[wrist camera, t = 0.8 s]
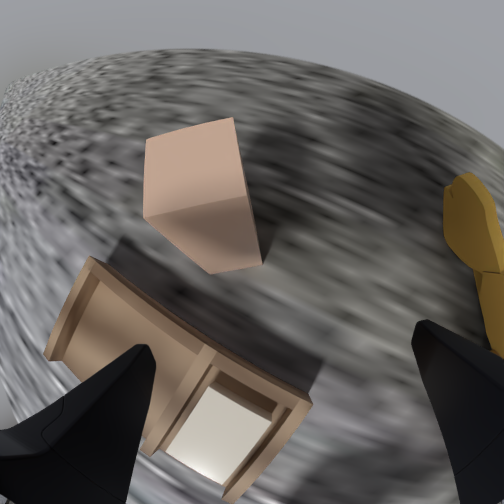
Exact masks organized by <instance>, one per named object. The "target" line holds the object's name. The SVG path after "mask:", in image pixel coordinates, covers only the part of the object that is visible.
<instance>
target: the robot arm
mask: <svg viewBox="0 0 504 504" xmlns="http://www.w3.org/2000/svg"><path fill="white" fill-rule="evenodd" d="M411 345H412V349H413V352H414V355H415V358H416V361H417V365H418V368H419V371H420V375H421V378H422V381H423V384H424V386H425V389H426V391H427V394H428V396H429V399H430V402H431V404H432V407H433V410H434V412H435V415H436V418H437V421H438V424H439V427H440V429H441V432H442V436H443V439H444V442H445V445H446V448H447V452H448V455H449V458H450V462H451V466H452V469H453V473H454V478H455V482H456V486H457V491H458V495H459V500H460V504H497V503H499V502H501V504H504V359H503V358H502V357H500V356H498V355H496V354H494V353H492V352H491V351H489V350H487V349H485V348H483V347H481V346H479V345H477V344H475V343H473V342H471V341H469V340H467V339H466V338H464V337H462V336H460V335H458V334H456V333H454V332H452V331H450V330H448V329H446V328H444V327H442V326H440V325H438V324H436V323H434V322H432V321H430V320H428V319H426V320H421V321H418V322H417V323H416V326H415V329H414V333H413V337H412V340H411ZM155 373H156V361H155V358H154V356H153V354H152V351H151V349H150V347H149V345H147V344H136V345H134V346H133V347H131V348H130V349H129V350H127V351H126V352H124V353H123V354H122V355H120V356H119V357H117V358H116V359H115V360H113V361H112V362H110V363H109V364H108V365H106V366H105V367H103V368H102V369H101V370H99V371H98V372H96V373H95V374H94V375H92V376H91V377H89V378H88V379H87V380H85V381H84V382H82V383H81V384H79V385H78V386H77V387H75V388H74V389H72V390H71V391H70V392H68V393H67V394H65V396H62V397H61V398H60V399H58V400H57V401H55V402H54V403H52V404H51V405H49V406H48V407H46V408H45V409H43V410H41V411H40V412H38V413H36V414H35V415H33V416H31V417H29V418H28V419H26V420H24V421H22V422H20V423H19V424H17V425H15V426H14V427H11V428H9V429H4V430H0V504H126V500H127V495H128V490H129V486H130V481H131V477H132V473H133V468H134V464H135V460H136V456H137V452H138V448H139V444H140V440H141V436H142V432H143V429H144V425H145V421H146V418H147V414H148V410H149V406H150V402H151V396H152V390H153V384H154V378H155Z"/></svg>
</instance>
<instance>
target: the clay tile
mask: <svg viewBox="0 0 504 504" xmlns="http://www.w3.org/2000/svg"><path fill="white" fill-rule="evenodd" d="M271 423H272V413H270V412H268V411H266V410H264V409H262V408H261V407H259V406H257V405H255V404H253V403H251V402H250V401H248V400H246V399H244V398H242V397H241V396H239V395H237V394H235V393H234V392H232V391H230V390H229V389H227V388H225V387H224V386H222V385H220V384H219V383H217V382H216V381H214V382H213V383H212V384H211V385H209V386H208V388H207V389H206V391H205V392H204V394H203V396H202V397H201V399H200V400H199V402H198V403H197V405H196V406H195V408H194V409H193V411H192V413H191V414H190V416H189V417H188V419H187V420H186V422H185V423H184V425H183V426H182V428H181V429H180V431H179V432H178V434H177V435H176V437H175V438H174V440H173V441H172V443H171V444H170V445H169V447H168V448H167V450H166V451H165V452H167V453H168V454H170V455H171V456H173V457H174V458H176V459H177V460H179V461H180V462H182V463H184V464H185V465H187V466H189V467H190V468H192V469H194V470H195V471H197V472H199V473H201V474H202V475H204V476H206V477H208V478H210V479H212V480H213V481H215V482H217V483H219V484H221V485H222V484H223V483H224V482H225V481H226V480H227V479H228V478H229V476H230V475H231V474H232V473H233V472H234V470H235V469H236V468H237V467H238V466H239V464H240V463H241V462H242V461H243V460H244V458H245V457H246V456H247V455H248V453H249V452H250V451H251V449H252V448H253V447H254V446H255V444H256V443H257V442H258V440H259V439H260V438H261V436H262V435H263V434H264V432H265V431H266V430H267V428H268V427H269V425H270V424H271Z"/></svg>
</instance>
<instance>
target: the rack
mask: <svg viewBox="0 0 504 504" xmlns="http://www.w3.org/2000/svg"><path fill="white" fill-rule="evenodd" d="M136 344H147V345H149V347H150V349H151V351H152V354H153V356H154V358H155V361H156V373H155V378H154V384H153V390H152V396H151V402H150V406H149V410H148V414H147V418H146V421H145V425H144V429H143V432H142V436H143V437H144V438H146V440H145V442H144V443H143V445H142V447H141V448H140V450H141V451H142V452H144V453H145V454H146V455H148V456H149V457H150V456H152V455H153V454H154V453H155V452H156V451H157V450H158V449H159V448H160V449H161V450H163V451H164V452H165V451H166V450H167V448H168V447H169V445H170V444H171V443H172V441H173V440H174V438H175V437H176V435H177V434H178V432H179V431H180V429H181V428H182V426H183V425H184V423H185V422H186V420H187V419H188V417H189V416H190V414H191V413H192V411H193V409H194V408H195V406H196V405H197V403H198V402H199V400H200V399H201V397H202V396H203V394H204V392H205V391H206V389H207V388H208V386H209V385H211V384H212V383H213V382H214V381H216V382H217V383H219V384H220V385H222V386H224V387H225V388H227V389H229V390H230V391H232V392H234V393H235V394H237V395H239V396H241V397H242V398H244V399H246V400H248V401H250V402H251V403H253V404H255V405H257V406H259V407H261V408H262V409H264V410H266V411H268V412H270V413H272V423H271V424H270V425H269V427H268V428H267V430H266V431H265V432H264V434H263V435H262V436H261V438H260V439H259V440H258V442H257V443H256V444H255V446H254V447H253V448H252V449H251V451H250V452H249V453H248V455H247V456H246V457H245V458H244V460H243V461H242V462H241V463H240V464H239V466H238V467H237V468H236V469H235V470H234V472H233V473H232V474H231V475H230V476H229V478H228V479H227V480H226V481H225V482H224V483H223V484H222V486H224V487H226V488H225V491H224V494H223V496H222V500H224V501H226V502H228V503H231V504H234V503H235V501H236V500H237V499H238V498H239V497H240V496H241V495H242V494H243V493H244V492H245V491H246V490H247V489H248V488H249V487H250V486H251V485H252V483H253V482H254V481H255V480H256V479H257V478H258V477H259V476H260V474H261V473H262V472H263V471H264V470H265V469H266V467H267V466H268V465H269V464H270V463H271V461H272V460H273V459H274V458H275V456H276V455H277V454H278V453H279V451H280V450H281V449H282V448H283V446H284V445H285V444H286V442H287V441H288V440H289V438H290V437H291V436H292V434H293V433H294V432H295V430H296V429H297V427H298V426H299V425H300V423H301V422H302V420H303V419H304V418H305V416H306V415H307V413H308V412H309V410H310V409H311V407H312V406H313V403H312V401H311V399H310V396H309V394H308V393H306V392H304V391H302V390H300V389H298V388H296V387H294V386H292V385H290V384H288V383H286V382H284V381H282V380H281V379H279V378H277V377H275V376H273V375H271V374H270V373H268V372H266V371H264V370H262V369H261V368H259V367H257V366H255V365H254V364H252V363H250V362H248V361H247V360H245V359H243V358H242V357H240V356H238V355H237V354H235V353H233V352H232V351H230V350H228V349H227V348H225V347H223V346H222V345H220V344H219V343H217V342H215V341H214V340H212V339H211V338H209V337H208V336H206V335H204V334H203V333H201V332H200V331H198V330H197V329H195V328H194V327H192V326H191V325H189V324H188V323H186V322H185V321H183V320H182V319H181V318H179V317H178V316H176V315H175V314H173V313H172V312H170V311H169V310H168V309H166V308H165V307H163V306H162V305H161V304H159V303H158V302H157V301H155V300H154V299H152V298H151V297H150V296H148V295H147V294H146V293H144V292H143V291H142V290H140V289H139V288H138V287H136V286H135V285H134V284H133V283H131V282H130V281H129V280H127V279H126V278H125V277H124V276H122V275H121V274H120V273H119V272H117V271H116V270H115V269H114V268H112V267H111V266H110V265H109V264H107V263H104V262H102V261H100V260H98V259H96V258H93V257H91V256H89V257H88V259H87V260H86V262H85V264H84V266H83V268H82V270H81V271H80V273H79V275H78V277H77V279H76V281H75V283H74V285H73V287H72V289H71V291H70V293H69V295H68V297H67V299H66V301H65V303H64V305H63V308H62V310H61V312H60V314H59V316H58V319H57V321H56V323H55V326H54V328H53V330H52V333H51V335H50V338H49V340H48V343H47V345H46V348H45V351H44V353H43V355H44V356H45V357H46V359H47V360H48V361H63V362H64V363H65V365H66V366H67V367H68V368H69V369H70V370H71V371H72V372H73V374H74V375H75V376H76V377H77V378H78V379H79V380H80V381H81V382H84V381H85V380H87V379H88V378H89V377H91V376H92V375H94V374H95V373H96V372H98V371H99V370H101V369H102V368H103V367H105V366H106V365H108V364H109V363H110V362H112V361H113V360H115V359H116V358H117V357H119V356H120V355H122V354H123V353H124V352H126V351H127V350H129V349H130V348H131V347H133V346H134V345H136ZM165 453H167V452H165ZM167 454H168V453H167ZM168 455H170V454H168ZM170 456H171V455H170ZM171 457H173V456H171ZM173 458H174V457H173ZM175 459H176V458H175ZM176 460H177V459H176ZM178 461H179V460H178ZM179 462H180V461H179ZM181 463H182V462H181ZM182 464H184V463H182ZM184 465H185V464H184ZM186 466H187V465H186ZM187 467H189V466H187ZM189 468H190V467H189ZM191 469H192V468H191ZM192 470H194V469H192ZM194 471H195V470H194ZM196 472H197V471H196ZM198 473H199V472H198ZM199 474H201V473H199ZM201 475H202V474H201ZM203 476H204V475H203ZM205 477H206V476H205ZM207 478H208V477H207ZM208 479H210V478H208ZM210 480H212V479H210ZM212 481H213V480H212ZM214 482H215V481H214ZM216 483H217V482H216ZM218 484H219V483H218ZM220 485H221V484H220Z"/></svg>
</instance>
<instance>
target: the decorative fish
mask: <svg viewBox="0 0 504 504" xmlns="http://www.w3.org/2000/svg"><path fill="white" fill-rule="evenodd" d="M443 233H444V238H445V240H446V242H447V244H448V246H449V247H450V248H451V249H452V250H453V252H454V253H455V254H456V255H457V256H458V257H459V258H460V259H461V260H462V261H463V262H464V263H465V264H466V265H468V266H469V267H470V268H472V269H473V272H474V277H475V282H476V287H477V291H478V296H479V301H480V306H481V310H482V314H483V318H484V323H485V329H486V334H487V337H488V339H489V342H490V344H491V347H492V350H490V351H491V352H492V353H494V354H496V355H498V356H500V357H502V358H503V359H504V239H503V236H502V233H501V229H500V226H499V222H498V219H497V214H496V207H495V203H494V200H493V198H492V196H491V195H490V193H489V191H488V190H487V189H486V187H485V186H484V185H483V184H482V182H481V181H480V180H479V179H478V178H477V177H476V176H475V175H474V174H472V173H470V172H468V173H465V174H462V175H460V176H457V177H455V179H454V181H453V183H452V184H451V185H449V186H446V187H445V188H444V199H443Z"/></svg>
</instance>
